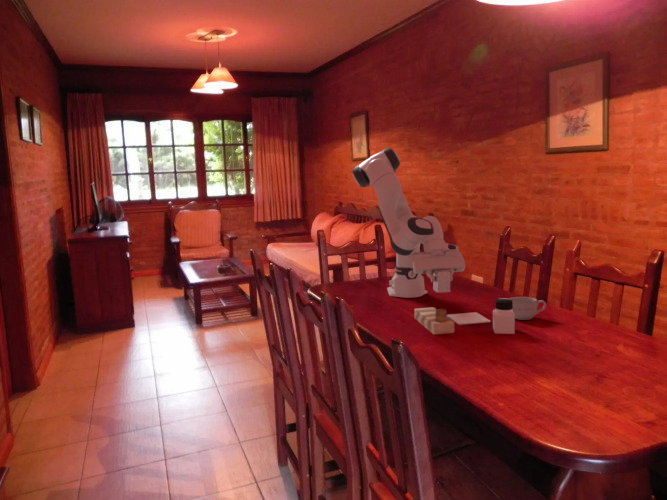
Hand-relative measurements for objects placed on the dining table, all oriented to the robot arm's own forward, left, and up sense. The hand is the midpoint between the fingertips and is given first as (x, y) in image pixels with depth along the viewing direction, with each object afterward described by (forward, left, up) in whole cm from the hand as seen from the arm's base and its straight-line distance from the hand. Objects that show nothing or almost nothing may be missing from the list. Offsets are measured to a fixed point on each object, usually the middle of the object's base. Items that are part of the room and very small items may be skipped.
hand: (442, 280), depth 206 cm
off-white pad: (-4, +12, -17) cm, 22 cm away
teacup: (+2, +34, -18) cm, 39 cm away
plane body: (0, -4, -17) cm, 18 cm away
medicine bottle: (+14, +18, -18) cm, 29 cm away
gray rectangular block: (-1, 0, -4) cm, 4 cm away
